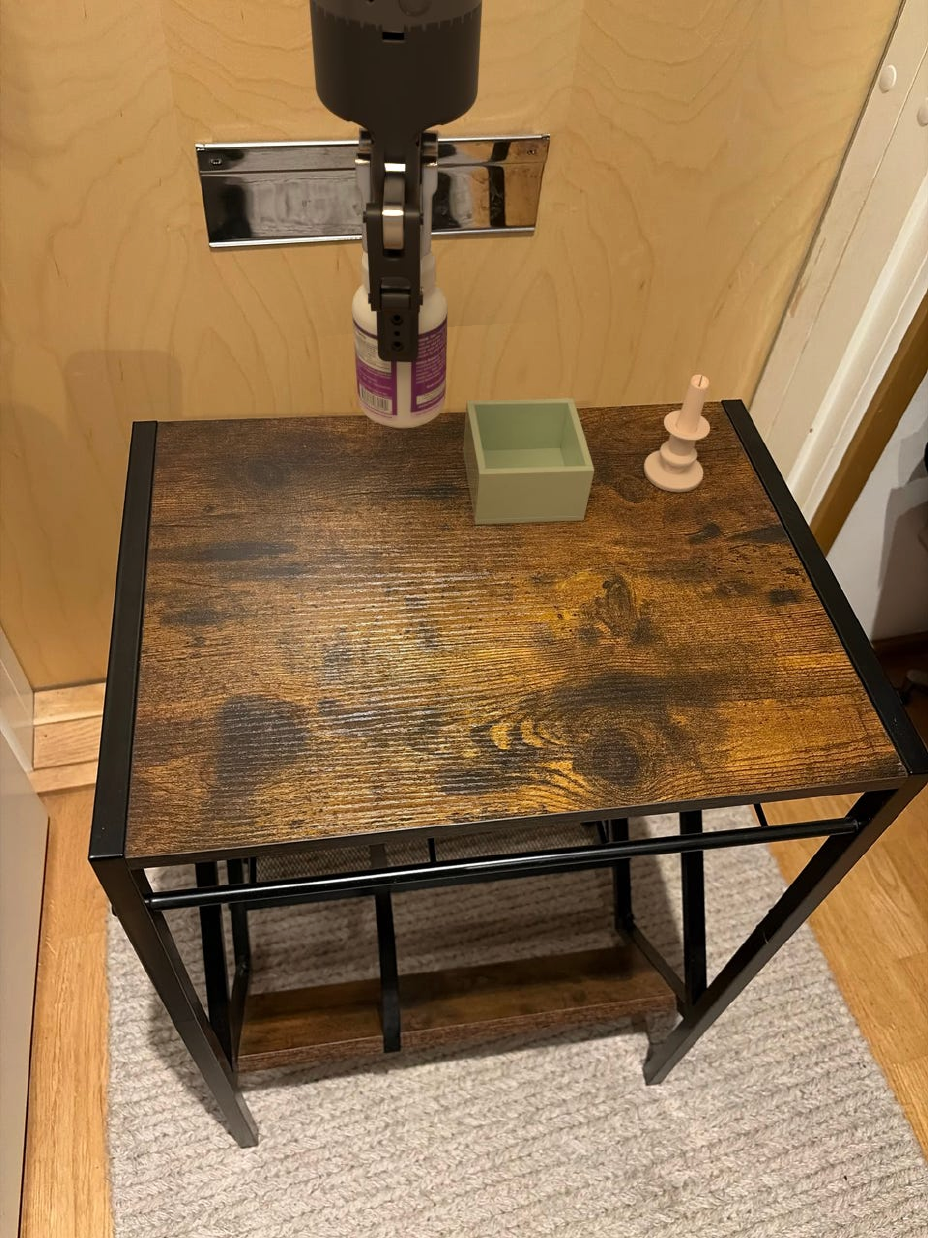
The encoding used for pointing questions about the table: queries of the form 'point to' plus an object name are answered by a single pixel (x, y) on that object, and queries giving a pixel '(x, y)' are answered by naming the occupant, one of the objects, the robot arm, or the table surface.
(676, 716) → the table surface
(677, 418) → the candle
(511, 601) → the table surface
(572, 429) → the green open box
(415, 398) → the pill bottle
